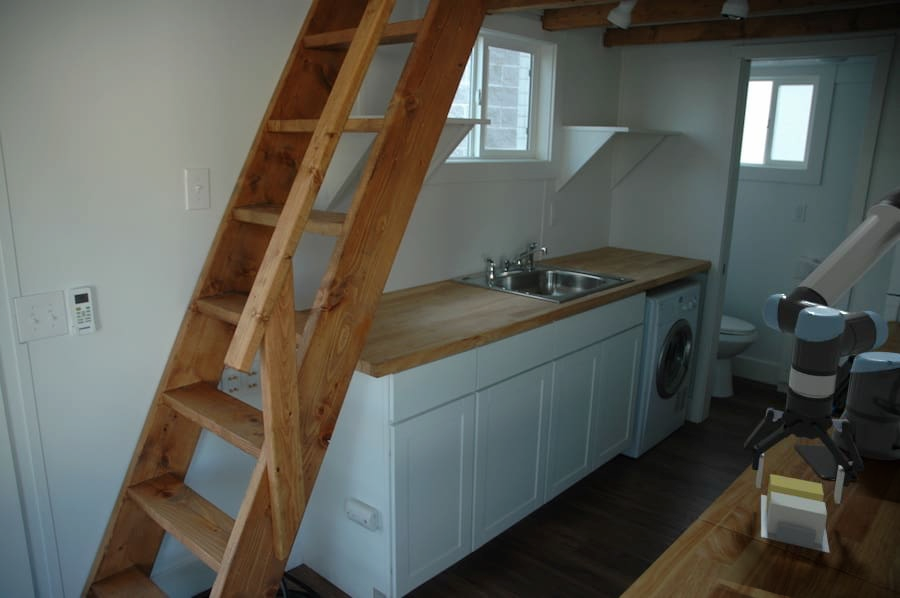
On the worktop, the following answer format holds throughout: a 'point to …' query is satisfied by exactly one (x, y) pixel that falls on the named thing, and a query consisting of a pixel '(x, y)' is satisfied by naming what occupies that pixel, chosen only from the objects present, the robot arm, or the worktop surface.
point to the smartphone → (821, 461)
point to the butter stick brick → (794, 488)
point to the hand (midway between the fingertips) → (796, 492)
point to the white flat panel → (796, 513)
